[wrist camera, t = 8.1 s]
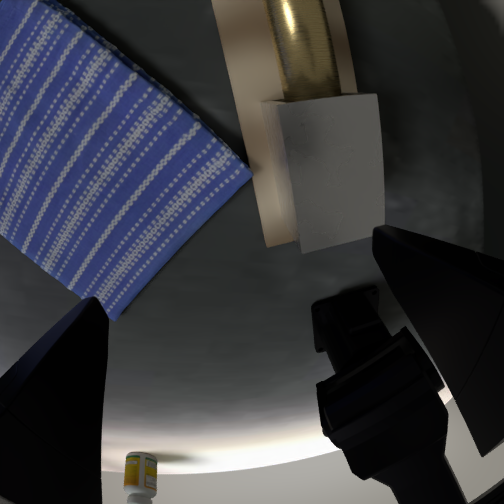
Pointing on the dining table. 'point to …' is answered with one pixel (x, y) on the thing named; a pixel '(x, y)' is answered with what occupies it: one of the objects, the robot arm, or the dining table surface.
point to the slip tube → (303, 49)
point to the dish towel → (98, 157)
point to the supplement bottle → (140, 478)
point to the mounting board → (266, 91)
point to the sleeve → (327, 167)
